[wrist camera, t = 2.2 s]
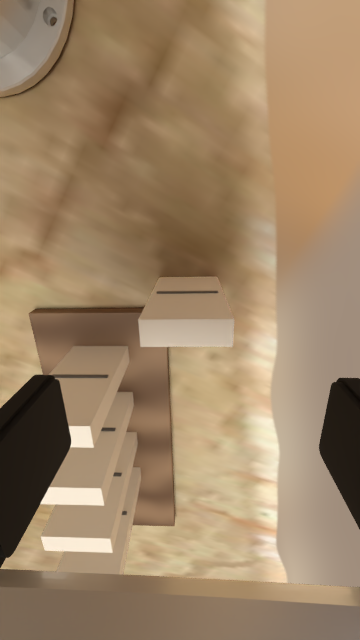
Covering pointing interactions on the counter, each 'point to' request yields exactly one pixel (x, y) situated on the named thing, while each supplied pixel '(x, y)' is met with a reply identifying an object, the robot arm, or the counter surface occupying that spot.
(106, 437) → the domino
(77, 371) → the domino
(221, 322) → the domino
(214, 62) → the counter surface
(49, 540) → the domino
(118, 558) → the domino
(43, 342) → the walnut board
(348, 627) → the robot arm
